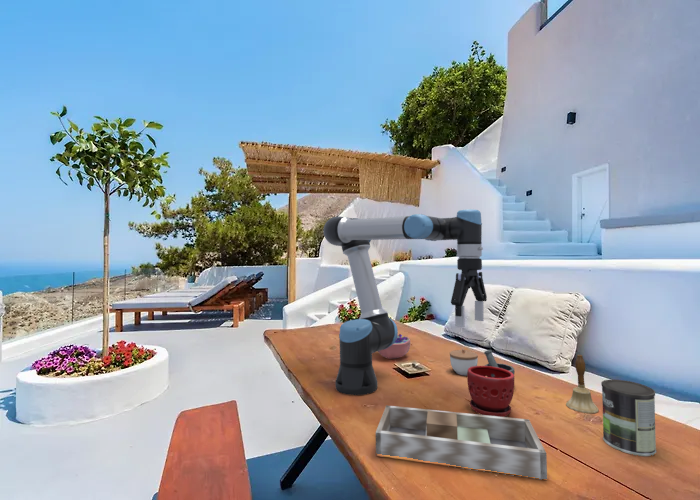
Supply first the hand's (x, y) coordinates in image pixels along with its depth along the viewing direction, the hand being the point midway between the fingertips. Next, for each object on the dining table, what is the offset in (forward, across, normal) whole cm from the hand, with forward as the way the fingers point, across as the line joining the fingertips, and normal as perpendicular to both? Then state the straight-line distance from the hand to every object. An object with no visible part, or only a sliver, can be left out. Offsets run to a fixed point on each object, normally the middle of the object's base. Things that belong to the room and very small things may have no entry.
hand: (469, 323), depth 112 cm
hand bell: (+25, +18, -27) cm, 41 cm away
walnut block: (+22, -30, -7) cm, 38 cm away
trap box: (+25, -29, -10) cm, 39 cm away
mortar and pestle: (+25, +19, -1) cm, 31 cm away
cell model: (+26, +23, +49) cm, 60 cm away
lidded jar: (+25, +24, +14) cm, 38 cm away
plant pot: (+25, -3, -8) cm, 26 cm away
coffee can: (+24, +2, -40) cm, 47 cm away
